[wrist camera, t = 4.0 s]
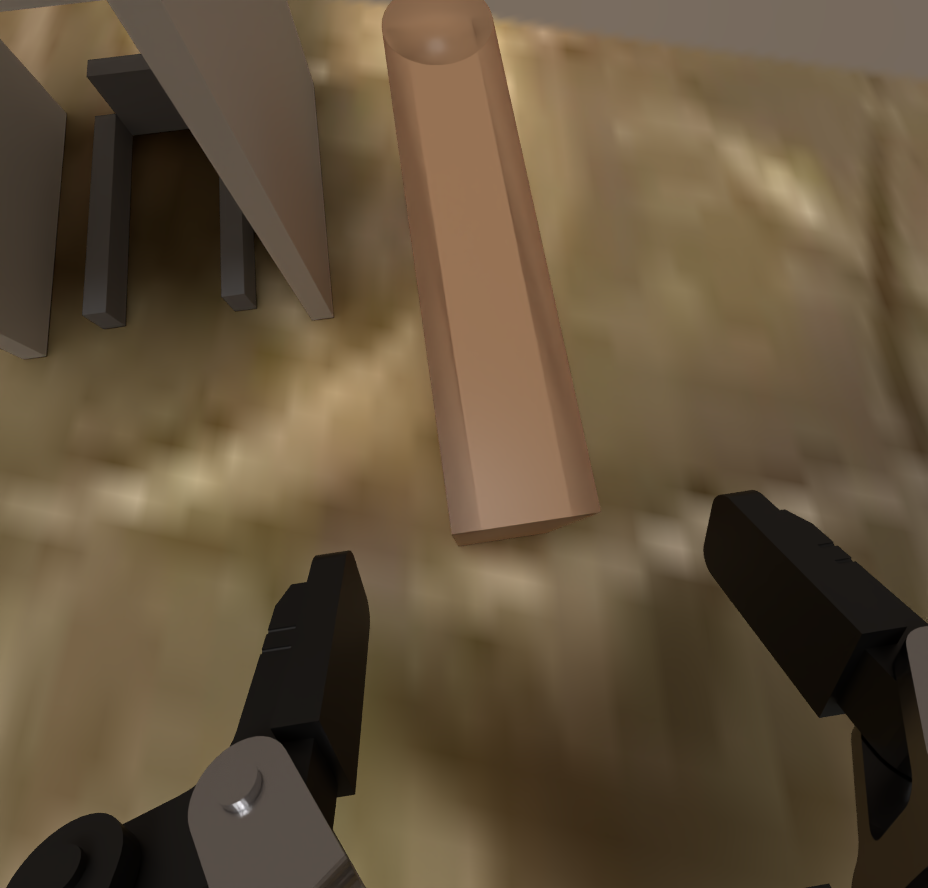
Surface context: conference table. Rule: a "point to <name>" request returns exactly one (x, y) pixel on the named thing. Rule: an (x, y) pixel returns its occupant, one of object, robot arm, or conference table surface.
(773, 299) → the conference table surface
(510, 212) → the rounded end wooden stick
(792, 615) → the robot arm
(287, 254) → the grey arch stand
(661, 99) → the conference table surface
